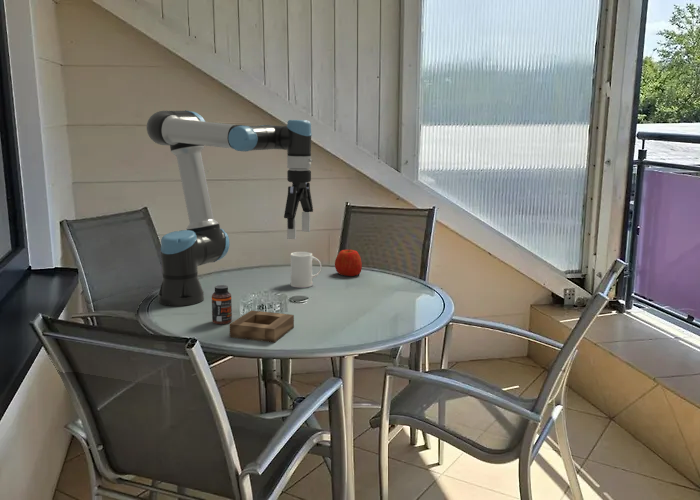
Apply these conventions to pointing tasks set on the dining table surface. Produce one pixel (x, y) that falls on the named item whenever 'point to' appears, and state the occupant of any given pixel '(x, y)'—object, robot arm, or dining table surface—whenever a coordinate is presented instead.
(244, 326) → the holder block
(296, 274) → the mug
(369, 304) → the dining table surface
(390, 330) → the dining table surface
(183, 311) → the dining table surface
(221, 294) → the supplement bottle
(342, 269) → the apple
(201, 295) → the robot arm
